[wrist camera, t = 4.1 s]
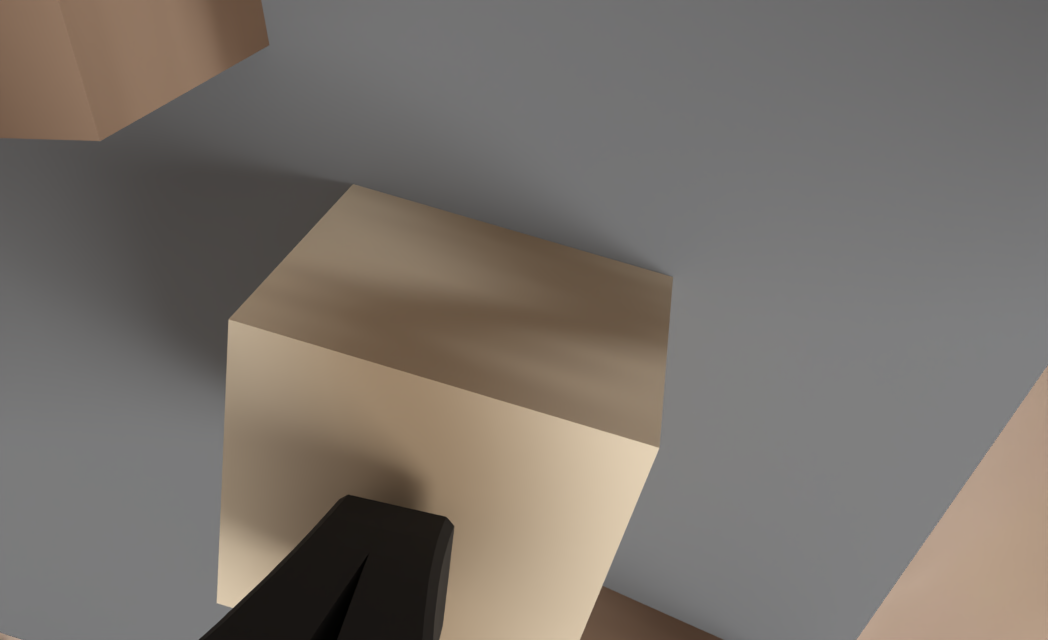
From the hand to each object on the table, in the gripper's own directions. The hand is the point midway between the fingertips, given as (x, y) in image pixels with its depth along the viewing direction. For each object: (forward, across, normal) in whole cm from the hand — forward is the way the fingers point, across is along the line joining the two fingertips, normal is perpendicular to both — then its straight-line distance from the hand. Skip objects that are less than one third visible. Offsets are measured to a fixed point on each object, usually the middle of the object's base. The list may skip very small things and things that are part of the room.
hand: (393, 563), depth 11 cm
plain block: (+4, 0, 0) cm, 4 cm away
